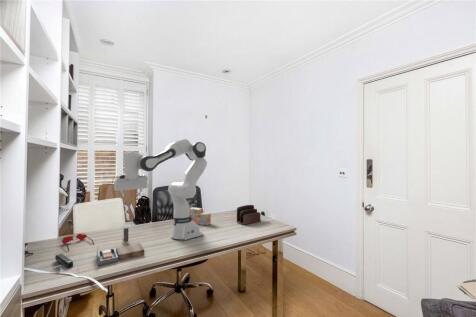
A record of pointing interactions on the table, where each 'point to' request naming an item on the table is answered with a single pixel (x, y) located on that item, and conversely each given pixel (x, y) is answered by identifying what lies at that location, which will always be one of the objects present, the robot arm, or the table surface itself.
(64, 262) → the portable electronic device stand
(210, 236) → the table surface
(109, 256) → the tile
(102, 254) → the tile
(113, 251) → the box
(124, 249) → the brown square slab
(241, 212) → the brown lidded box
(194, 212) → the stack of blocks
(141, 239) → the table surface
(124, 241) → the grey block with handle
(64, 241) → the glasses
